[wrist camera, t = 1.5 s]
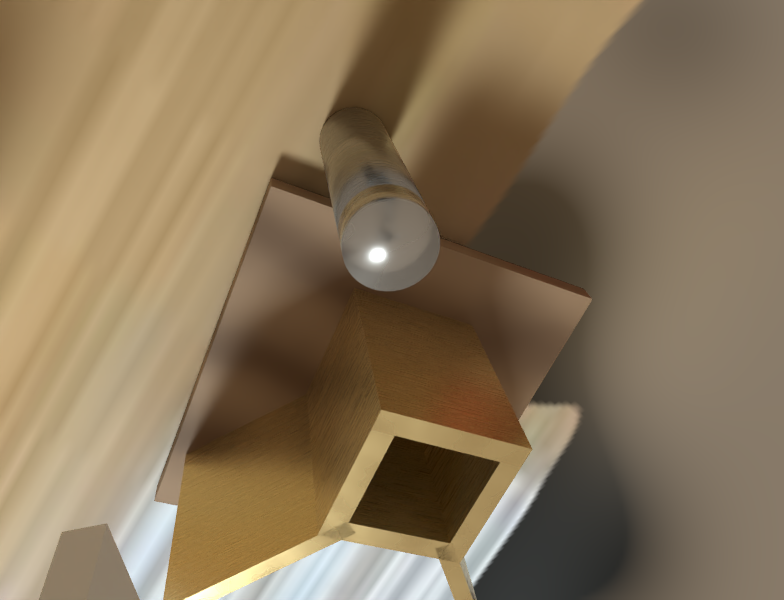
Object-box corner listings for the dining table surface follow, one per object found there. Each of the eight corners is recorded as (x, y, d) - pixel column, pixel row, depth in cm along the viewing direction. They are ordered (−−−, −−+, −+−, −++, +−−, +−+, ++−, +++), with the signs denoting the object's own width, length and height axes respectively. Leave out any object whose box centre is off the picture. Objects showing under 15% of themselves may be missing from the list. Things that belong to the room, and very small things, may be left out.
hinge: (260, 258, 34) (257, 377, 25) (548, 349, 39) (627, 474, 30) (183, 461, 39) (158, 617, 30) (446, 518, 44) (489, 665, 36)
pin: (334, 96, 32) (364, 186, 22) (398, 122, 33) (456, 219, 23) (309, 161, 33) (327, 274, 23) (371, 183, 34) (415, 302, 24)
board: (271, 177, 33) (271, 186, 32) (583, 288, 39) (592, 299, 38) (157, 485, 41) (154, 501, 40) (431, 541, 47) (435, 555, 46)
